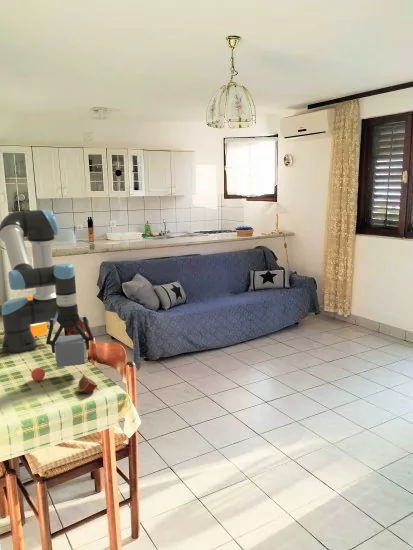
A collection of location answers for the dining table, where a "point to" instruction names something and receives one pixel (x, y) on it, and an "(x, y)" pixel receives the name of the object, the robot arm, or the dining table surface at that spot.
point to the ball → (38, 374)
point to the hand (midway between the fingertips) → (71, 358)
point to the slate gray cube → (70, 350)
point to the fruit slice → (86, 385)
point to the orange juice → (37, 326)
